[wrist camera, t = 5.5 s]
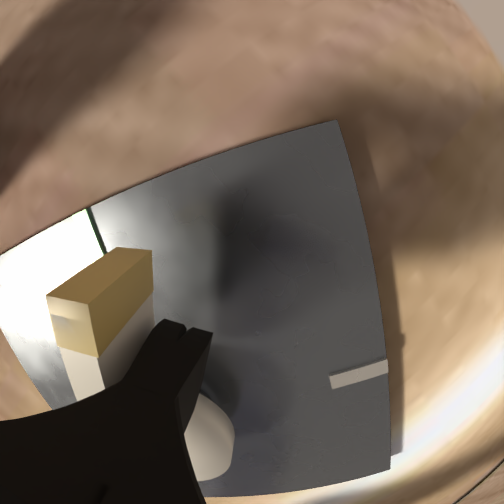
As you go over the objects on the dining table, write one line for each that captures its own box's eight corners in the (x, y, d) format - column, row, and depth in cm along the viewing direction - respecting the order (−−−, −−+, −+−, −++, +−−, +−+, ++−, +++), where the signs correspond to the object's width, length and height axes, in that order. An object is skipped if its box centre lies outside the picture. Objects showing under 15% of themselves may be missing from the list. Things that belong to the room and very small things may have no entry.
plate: (387, 458, 15) (393, 480, 13) (131, 482, 18) (124, 499, 16) (331, 122, 10) (343, 115, 8) (-14, 266, 13) (-36, 277, 11)
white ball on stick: (233, 467, 13) (221, 543, 8) (124, 446, 13) (94, 510, 9) (246, 243, 9) (221, 324, 5) (77, 229, 9) (-21, 278, 5)
